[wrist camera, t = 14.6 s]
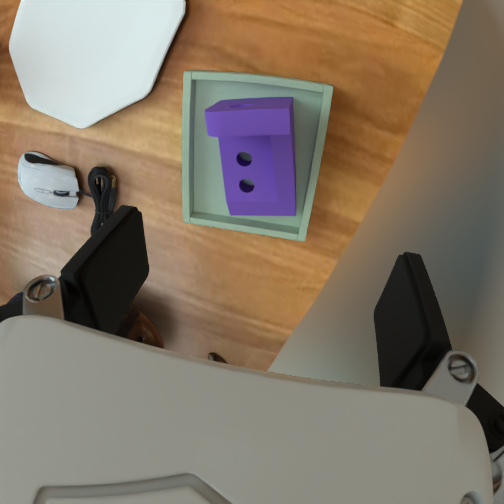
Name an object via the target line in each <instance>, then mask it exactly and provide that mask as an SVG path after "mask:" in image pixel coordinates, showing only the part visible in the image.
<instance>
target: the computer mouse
mask: <svg viewBox="0 0 504 504" xmlns="http://www.w3.org/2000/svg"><path fill="white" fill-rule="evenodd" d="M101 177H102V178H103V187H102V191H101ZM96 178H98V185H97V183H96ZM18 179H19V184H20V186H21V189H22V190H23V192H24V193H25V194H26V195H27V196H28V197H30V198H31V199H33V200H35V201H37V202H39V203H41V204H44V205H46V206H48V207H52V208H59V209H72V210H73V209H74V208H75V207H76V205H77V202H78V199H79V198H78V195H77V192H76V191H78V192H79V193H80V194H84V195H86V196H89V197H92V198H93V200H94V203H95V207H96V210H95V212H96V213H95V217H94V220H93V223H92V226H91V236H92V235H93V234H94V233H95V232H96V231H97V230H98V229H99V228H100V227H101V223H104V222H105V221H106V220H107V219H108V218H109V217H110V216H111V215H112V214H113V209H114V206H115V199H116V190H117V188H116V187H115V184H116V177H114V176H113V175H110V176H109V173H108V170H107V168H106V167H101V168H100V167H94V168H92V169H91V171H90V172H89V175H88V185H89V188H90V191H91V194H92V195H91V194H88V193H85V192H83V189H81V188H79V186H78V181H77V179H76V177H75V171H74V168H73V167H70V166H67V165H63V164H60V163H57V162H55V161H53V160H52V159H50V158H48V157H47V156H45V155H43V154H41V153H38V152H25V153H24V154H23V155H22V156H21V158H20V161H19V165H18Z"/></svg>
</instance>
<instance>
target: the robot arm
mask: <svg viewBox="0 0 504 504" xmlns="http://www.w3.org/2000/svg"><path fill="white" fill-rule="evenodd" d="M60 272H61V276H60V277H59V278H57V277H56V276H53V275H41V276H39V277H36V278H34V279H33V280H32V281H30V282H29V283H28V284H27V286H26V287H25V289H24V293H23V298H22V299H19V300H16V301H14V302H11V303H8V304H5V305H3V306H0V504H504V407H503V406H502V405H501V404H500V403H499V402H498V401H497V400H495V399H494V398H493V397H492V396H491V395H490V394H489V393H488V392H487V391H486V390H485V389H484V388H482V387H481V386H480V385H479V384H478V383H477V382H478V378H479V369H478V366H477V363H476V362H475V360H474V359H473V358H472V357H471V356H470V355H469V354H468V353H466V352H464V351H461V350H452V347H451V344H450V340H449V336H448V333H447V330H446V326H445V323H444V320H443V316H442V313H441V310H440V307H439V304H438V301H437V298H436V296H435V293H434V290H433V287H432V284H431V281H430V279H429V276H428V273H427V270H426V268H425V265H424V262H423V260H422V257H421V255H419V254H415V253H410V252H405V253H404V254H403V255H399V256H398V258H397V260H396V263H395V265H394V267H393V270H392V272H391V274H390V277H389V279H388V281H387V284H386V286H385V288H384V290H383V292H382V295H381V297H380V299H379V301H378V303H377V305H376V308H375V310H374V323H375V332H376V341H377V350H378V361H379V373H380V387H378V386H369V385H360V384H351V383H342V382H334V381H326V380H318V379H311V378H304V377H297V376H291V375H285V374H279V373H273V372H267V371H261V370H256V369H250V368H245V367H240V366H235V365H230V364H225V363H221V362H216V361H211V360H207V359H202V358H198V357H194V356H190V355H185V354H181V353H177V352H173V351H169V350H165V349H161V348H158V347H154V346H150V345H147V344H143V343H139V342H136V341H132V340H129V339H125V338H122V337H119V336H115V335H113V333H114V332H115V330H116V328H117V326H118V325H119V323H120V321H121V320H122V318H123V316H124V314H125V313H126V311H127V309H128V308H129V306H130V304H131V303H132V301H133V299H134V298H135V296H136V294H137V293H138V291H139V289H140V288H141V286H142V285H143V283H144V281H145V280H146V278H147V276H148V274H149V264H148V257H147V250H146V243H145V236H144V228H143V219H142V213H141V212H140V211H138V209H137V207H133V206H126V205H122V206H120V207H119V208H118V209H117V210H116V211H115V212H114V213H113V214H112V215H111V216H110V217H109V218H108V219H107V220H106V221H105V222H104V223H103V224H102V226H101V227H100V228H99V229H98V230H97V231H96V232H95V233H94V234H93V235H92V236H91V237H90V238H89V239H88V240H87V242H86V243H85V244H84V245H83V246H82V247H81V248H80V249H79V250H78V251H77V253H76V254H75V255H74V256H73V257H72V258H71V259H70V261H69V262H68V263H67V264H66V265H65V266H64V267H63V269H62V270H61V271H60Z"/></svg>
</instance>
